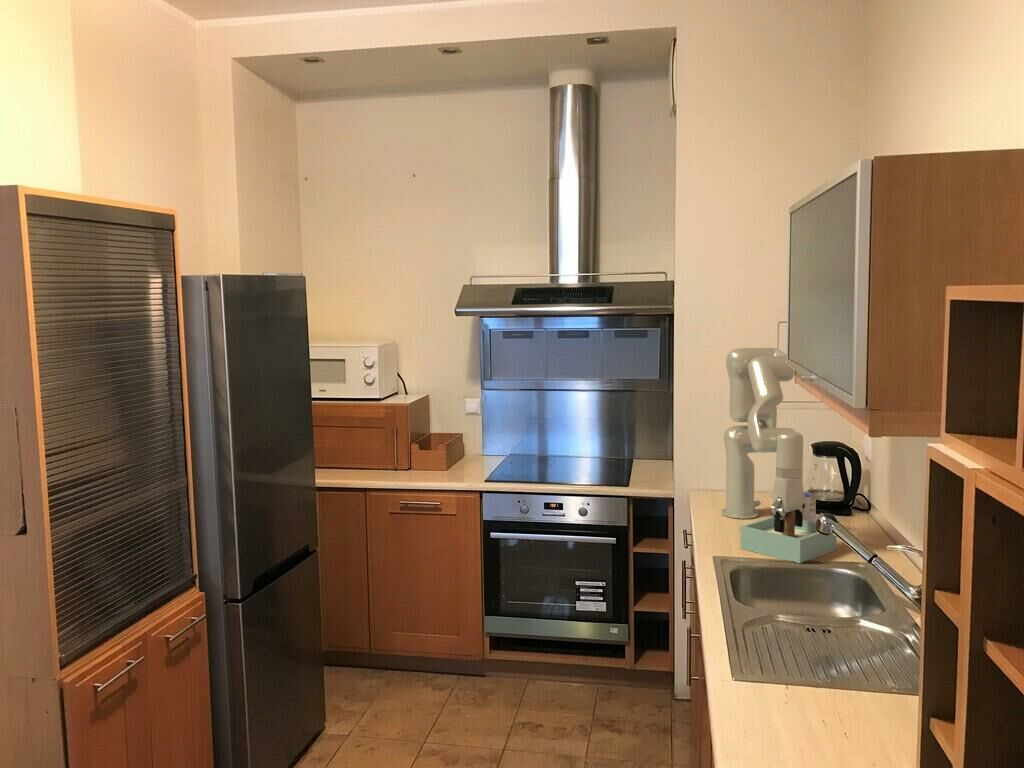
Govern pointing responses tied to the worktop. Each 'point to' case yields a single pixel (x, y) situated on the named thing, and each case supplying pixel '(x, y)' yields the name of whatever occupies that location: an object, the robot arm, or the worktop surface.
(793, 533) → the peg
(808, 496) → the ink cartridge box
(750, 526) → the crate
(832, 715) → the worktop surface
